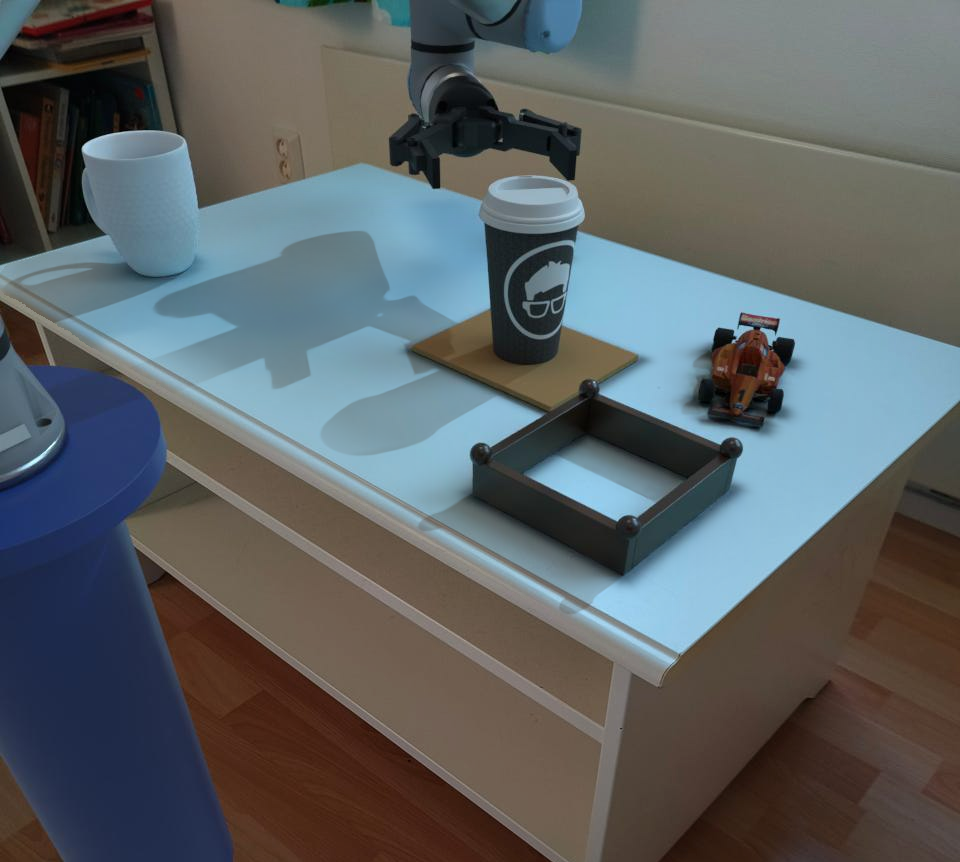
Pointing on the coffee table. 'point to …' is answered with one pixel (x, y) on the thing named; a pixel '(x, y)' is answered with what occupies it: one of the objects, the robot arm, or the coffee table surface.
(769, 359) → the toy car
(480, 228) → the coffee table surface
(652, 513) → the dark square frame
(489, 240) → the coffee cup
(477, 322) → the cork mat
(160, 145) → the mug
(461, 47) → the robot arm
